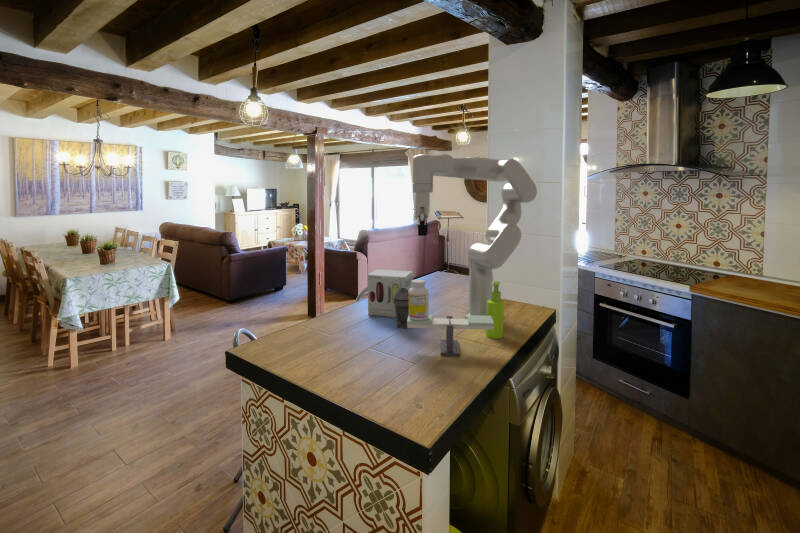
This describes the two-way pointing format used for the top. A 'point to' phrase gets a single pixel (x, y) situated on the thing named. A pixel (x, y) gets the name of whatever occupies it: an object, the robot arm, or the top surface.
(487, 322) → the beam
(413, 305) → the supplement bottle
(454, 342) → the pivot stand
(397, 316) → the beverage cup
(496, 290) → the soap dispenser
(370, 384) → the top surface
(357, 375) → the top surface
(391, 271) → the supplement box
